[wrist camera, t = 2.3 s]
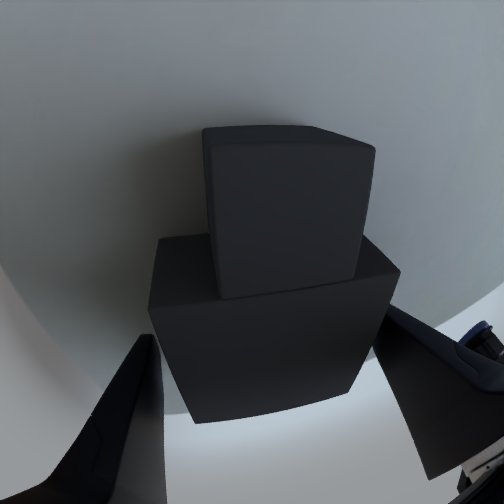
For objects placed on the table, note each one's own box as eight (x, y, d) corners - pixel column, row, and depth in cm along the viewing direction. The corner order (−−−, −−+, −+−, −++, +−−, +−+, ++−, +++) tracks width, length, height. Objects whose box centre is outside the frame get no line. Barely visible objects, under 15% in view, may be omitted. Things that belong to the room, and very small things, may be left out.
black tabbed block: (358, 129, 7) (430, 153, 5) (322, 340, 12) (348, 393, 9) (143, 134, 6) (110, 159, 4) (189, 362, 11) (194, 424, 8)
